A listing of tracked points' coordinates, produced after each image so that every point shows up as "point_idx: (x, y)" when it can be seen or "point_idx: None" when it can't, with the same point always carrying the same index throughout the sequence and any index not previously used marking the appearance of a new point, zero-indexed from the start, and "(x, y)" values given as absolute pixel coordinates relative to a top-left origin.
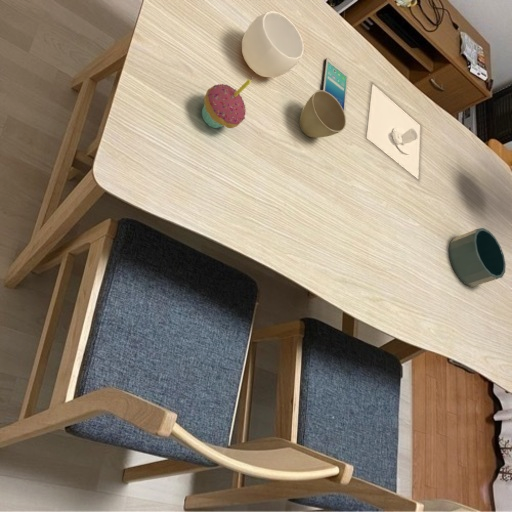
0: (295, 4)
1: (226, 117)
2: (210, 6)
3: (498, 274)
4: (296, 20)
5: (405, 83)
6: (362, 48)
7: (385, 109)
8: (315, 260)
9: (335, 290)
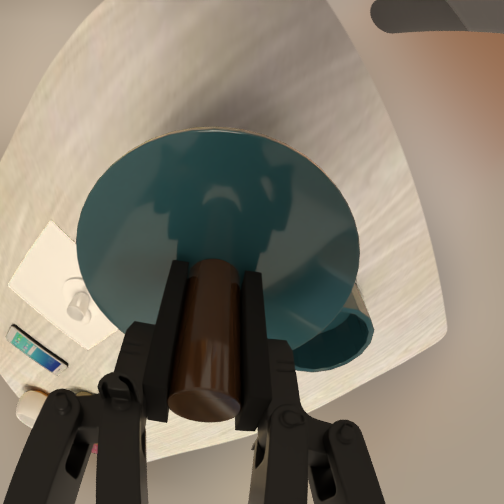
0: None
1: None
2: (16, 393)
3: (364, 335)
4: None
5: None
6: None
7: (38, 289)
8: (199, 438)
9: (226, 438)
